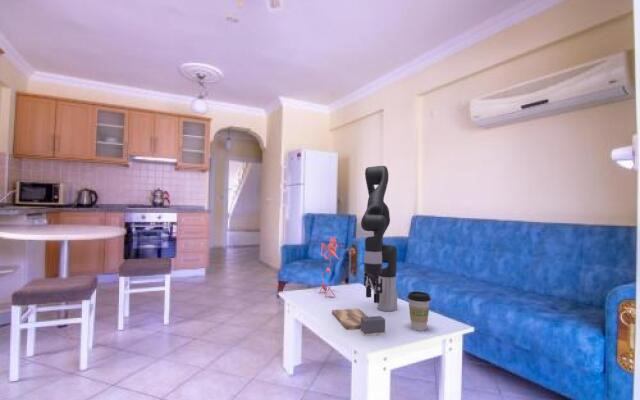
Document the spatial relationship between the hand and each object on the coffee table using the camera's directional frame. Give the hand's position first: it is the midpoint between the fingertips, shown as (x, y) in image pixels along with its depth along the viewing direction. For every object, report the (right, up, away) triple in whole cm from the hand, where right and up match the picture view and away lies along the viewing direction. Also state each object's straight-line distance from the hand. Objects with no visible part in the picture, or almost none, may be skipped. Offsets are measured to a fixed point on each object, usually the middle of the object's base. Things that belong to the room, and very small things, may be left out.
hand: (372, 299), depth 139 cm
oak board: (-7, -14, +15) cm, 21 cm away
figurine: (-15, -15, +58) cm, 62 cm away
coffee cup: (+21, -14, +5) cm, 26 cm away
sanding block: (0, -14, 0) cm, 14 cm away
